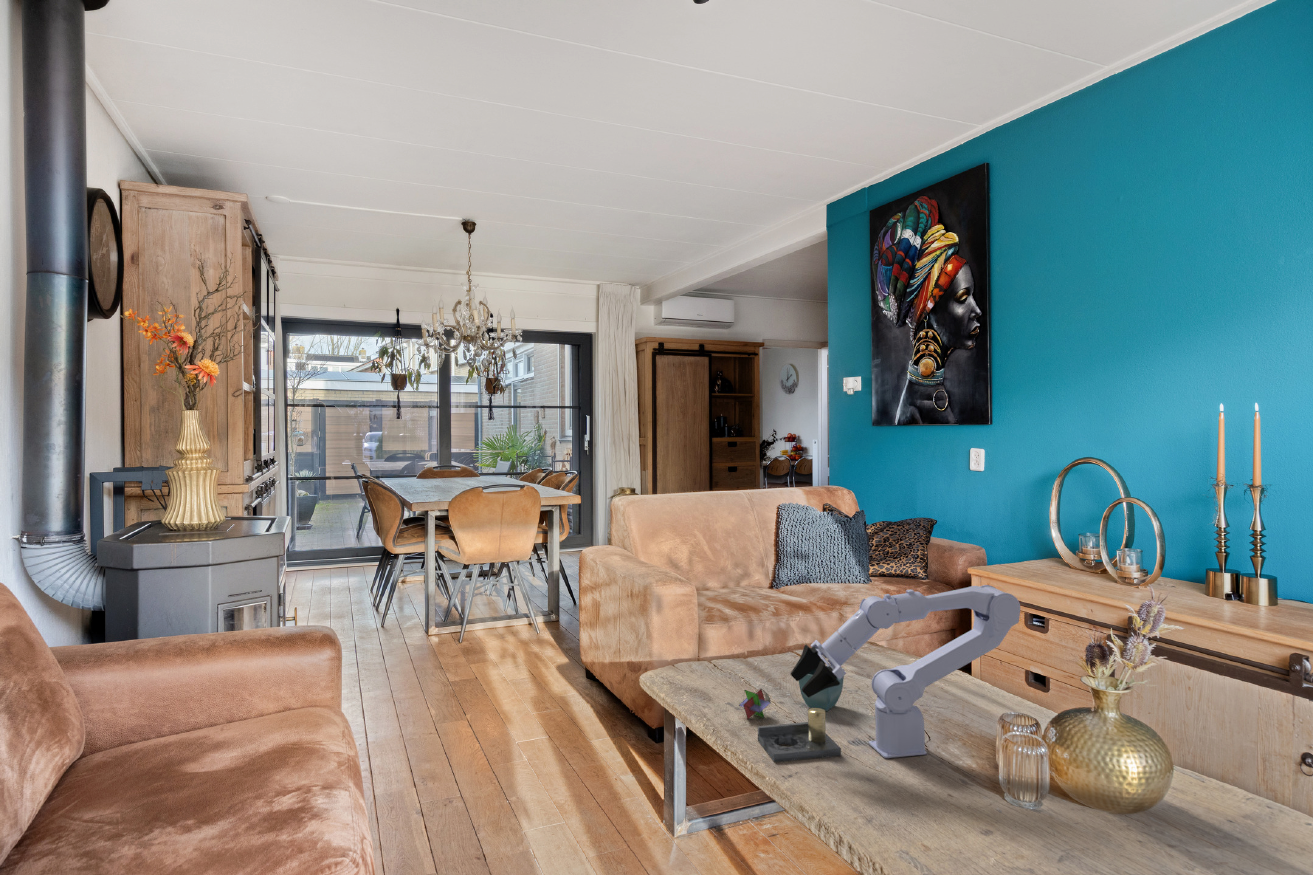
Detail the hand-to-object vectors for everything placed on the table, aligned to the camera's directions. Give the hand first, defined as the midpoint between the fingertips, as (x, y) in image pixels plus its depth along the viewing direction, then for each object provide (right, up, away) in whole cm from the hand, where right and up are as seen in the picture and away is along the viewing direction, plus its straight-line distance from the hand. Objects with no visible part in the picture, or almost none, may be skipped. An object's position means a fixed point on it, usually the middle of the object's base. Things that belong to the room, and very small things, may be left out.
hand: (799, 685), depth 157 cm
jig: (0, -14, +2) cm, 14 cm away
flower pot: (+11, -14, +26) cm, 31 cm away
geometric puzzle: (-7, -14, +20) cm, 25 cm away
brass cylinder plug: (+4, -12, +3) cm, 13 cm away
